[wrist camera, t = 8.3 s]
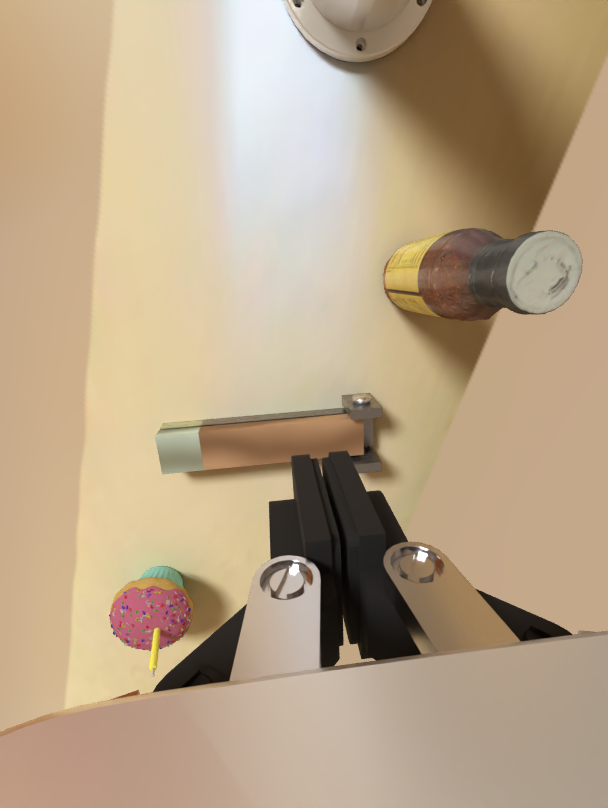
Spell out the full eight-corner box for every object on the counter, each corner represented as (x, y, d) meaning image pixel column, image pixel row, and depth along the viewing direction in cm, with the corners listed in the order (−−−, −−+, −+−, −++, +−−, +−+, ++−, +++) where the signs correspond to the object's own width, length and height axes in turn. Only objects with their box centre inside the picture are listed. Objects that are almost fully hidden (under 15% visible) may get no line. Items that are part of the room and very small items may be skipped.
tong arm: (158, 430, 39) (155, 436, 38) (359, 412, 41) (363, 417, 39) (165, 466, 40) (162, 474, 39) (360, 448, 42) (363, 454, 41)
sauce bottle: (449, 295, 40) (616, 321, 21) (389, 319, 40) (503, 366, 21) (432, 227, 37) (602, 189, 19) (369, 253, 38) (476, 241, 19)
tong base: (160, 404, 40) (148, 421, 36) (370, 387, 42) (382, 401, 38) (172, 475, 43) (163, 498, 39) (369, 456, 45) (381, 476, 40)
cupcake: (185, 545, 46) (160, 635, 35) (208, 600, 49) (192, 700, 38) (112, 564, 46) (63, 661, 35) (140, 618, 49) (103, 725, 37)
